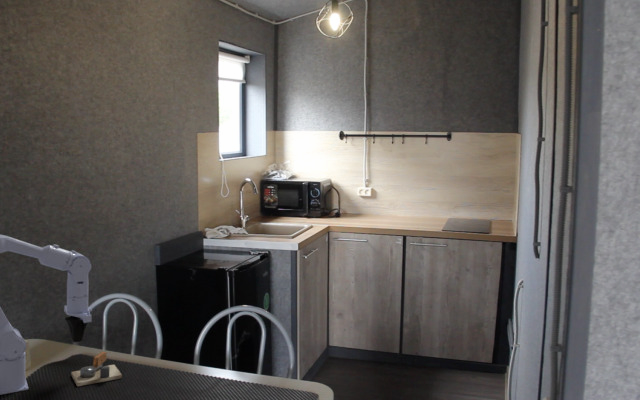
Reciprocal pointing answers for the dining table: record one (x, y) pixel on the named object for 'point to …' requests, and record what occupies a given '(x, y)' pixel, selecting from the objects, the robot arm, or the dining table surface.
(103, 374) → the post
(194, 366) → the dining table surface
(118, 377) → the board
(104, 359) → the crank
